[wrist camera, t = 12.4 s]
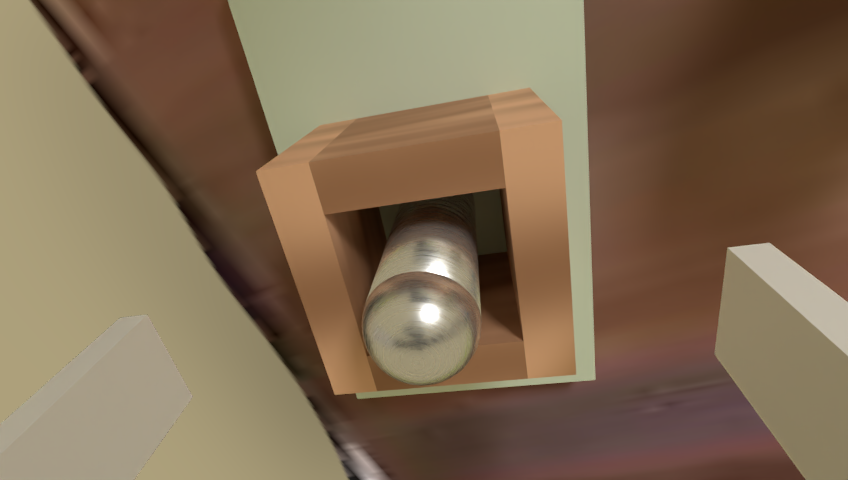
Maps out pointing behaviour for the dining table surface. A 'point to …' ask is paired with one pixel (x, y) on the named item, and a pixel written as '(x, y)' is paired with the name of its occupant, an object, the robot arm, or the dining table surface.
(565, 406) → the dining table surface
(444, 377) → the post
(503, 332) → the collar
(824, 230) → the dining table surface
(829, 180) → the dining table surface
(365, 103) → the post plate
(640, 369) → the dining table surface
